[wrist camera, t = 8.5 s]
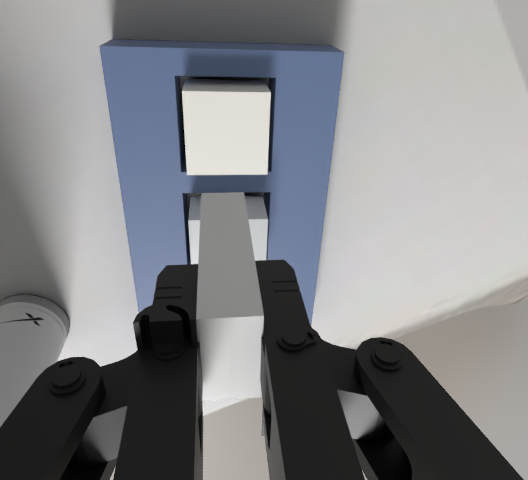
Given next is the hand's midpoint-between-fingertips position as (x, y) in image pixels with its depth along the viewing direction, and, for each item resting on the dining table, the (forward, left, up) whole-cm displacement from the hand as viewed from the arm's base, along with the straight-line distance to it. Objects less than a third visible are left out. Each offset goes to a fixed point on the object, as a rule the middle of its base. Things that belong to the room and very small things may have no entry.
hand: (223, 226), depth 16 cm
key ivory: (0, +1, -15) cm, 15 cm away
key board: (+8, +1, -17) cm, 18 cm away
